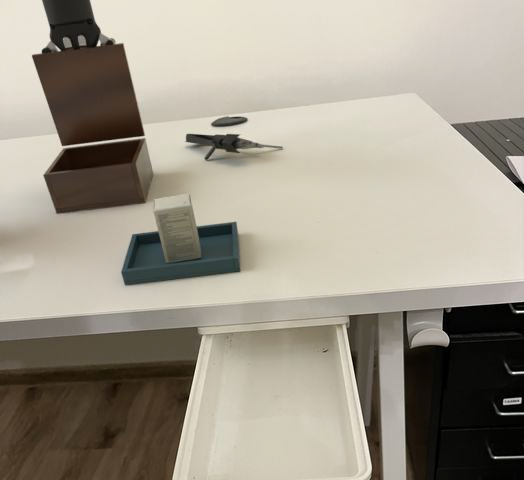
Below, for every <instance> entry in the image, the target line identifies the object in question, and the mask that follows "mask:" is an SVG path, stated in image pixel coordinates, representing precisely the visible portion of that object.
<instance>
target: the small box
mask: <svg viewBox="0 0 524 480" xmlns="http://www.w3.org/2000/svg"><path fill="white" fill-rule="evenodd" d="M152 211H153V216H154V220H155V223H156V224H155V225H156V227H157V231H158V232H159V236H160V240H161V244H162V248H163V252H164V256H165V260H166V263H173V262H180V261H185V260H192V259H197V258H201V257H202V255H201V247H200V242H199V236H198V231H197V226H198V225H197V222H196V217H195V211H194V206H193V201H192V197H191V194H190V193H182V194H177V195H171V196H164V197H159V198H154V199H153V205H152Z"/></svg>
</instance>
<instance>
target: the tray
mask: <svg viewBox="0 0 524 480" xmlns="http://www.w3.org/2000/svg"><path fill="white" fill-rule="evenodd" d="M196 226H197V231H198V236H199V242H200V247H201V255H202V257H201V258H197V259H192V260H185V261H180V262H173V263H166V260H165V256H164V252H163V248H162V244H161V240H160V236H159V232H158V230H156V231H148V232H140V233H133V234H132V235H131V238H130V242H129V244H128V248H127V252H126V254H125V258H124V261H123V265H122V268H121V271H120V273H121V277H122V280H123V283H124V285H125V286H128V285H129V286H131V285H136V284H137V285H138V284H145V283H146V284H147V283H153V282H154V283H155V282H162V281H171V280H179V279H186V278H187V279H188V278H194V277H196V278H197V277H203V276H212V275H220V274H229V273H239V272H241V259H240V242H239V231H238V222H237V221H230V222H220V223H215V224H205V225H196Z"/></svg>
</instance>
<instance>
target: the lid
mask: <svg viewBox="0 0 524 480" xmlns="http://www.w3.org/2000/svg"><path fill="white" fill-rule="evenodd" d="M31 58H32V61H33V64H34V67H35V70H36V74H37V76H38V79H39V82H40V85H41V88H42V91H43V94H44V97H45V99H46V103H47V106H48V108H49V109H48V110H49V112H50V115H51V118H52V121H53V124H54V127H55V130H56V132H57V136H58V139H59V142H60V145H61V147H69V146H74V145H84V144H85V145H86V144H92V143H99V142H101V143H102V142H108V141H109V142H110V141H118V140H125V139H132V138H139V137H141V138H142V137H145V136H146V132H145V129H144V125H143V120H142V116H141V112H140V108H139V103H138V99H137V95H136V91H135V86H134V82H133V78H132V74H131V69H130V66H129V61H128V56H127V53H126V49H125V43H124V42H120V43H119V42H118V43H115V44H111V45H103V46H100V45H97V46H95V47H87V48H80V49H72V50H64V51H61V50H58V51H56V52H48V53H42V52H39V53H34V54H33V53H32V55H31Z"/></svg>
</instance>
